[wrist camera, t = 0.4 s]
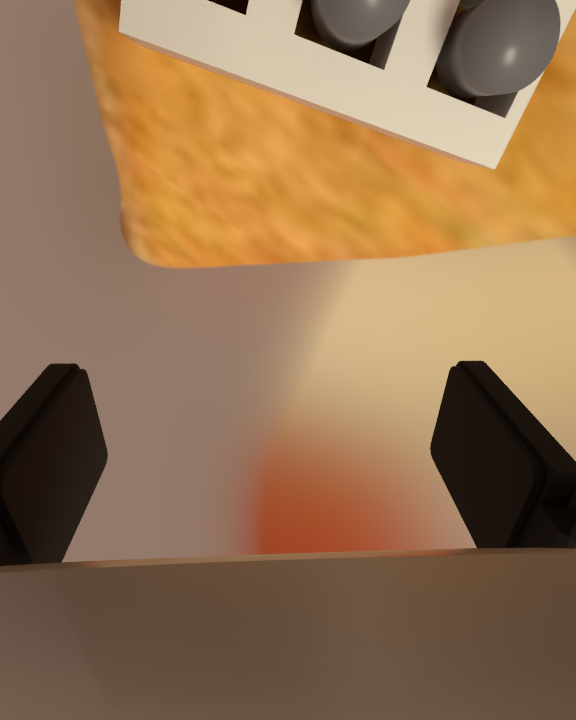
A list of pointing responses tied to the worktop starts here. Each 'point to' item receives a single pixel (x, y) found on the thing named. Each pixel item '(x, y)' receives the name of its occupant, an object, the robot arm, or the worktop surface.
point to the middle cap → (355, 20)
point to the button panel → (340, 69)
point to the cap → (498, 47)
